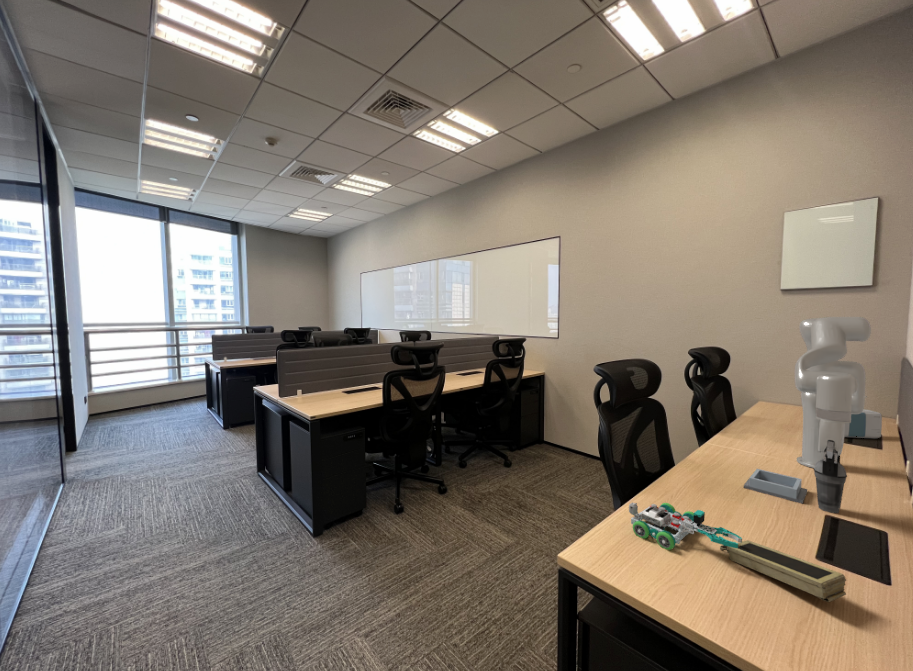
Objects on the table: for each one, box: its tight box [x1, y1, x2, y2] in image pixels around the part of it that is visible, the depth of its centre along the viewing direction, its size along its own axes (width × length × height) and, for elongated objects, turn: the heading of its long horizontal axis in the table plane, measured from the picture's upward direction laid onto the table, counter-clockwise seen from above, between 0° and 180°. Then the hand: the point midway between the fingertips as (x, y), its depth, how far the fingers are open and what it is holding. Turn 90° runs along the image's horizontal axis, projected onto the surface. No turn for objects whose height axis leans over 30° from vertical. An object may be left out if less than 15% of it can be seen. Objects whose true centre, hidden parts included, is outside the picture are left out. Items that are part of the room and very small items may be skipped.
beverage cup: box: [813, 459, 848, 514], centre depth 113 cm, size 7×7×20 cm
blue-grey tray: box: [743, 468, 808, 505], centre depth 126 cm, size 12×15×4 cm
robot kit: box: [628, 502, 743, 551], centre depth 98 cm, size 19×25×9 cm
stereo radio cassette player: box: [844, 395, 883, 440], centre depth 183 cm, size 21×8×20 cm, turn 80°
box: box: [719, 539, 847, 603], centre depth 84 cm, size 8×22×5 cm, turn 21°
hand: (831, 470), depth 112 cm, fingers open, 9 cm apart
